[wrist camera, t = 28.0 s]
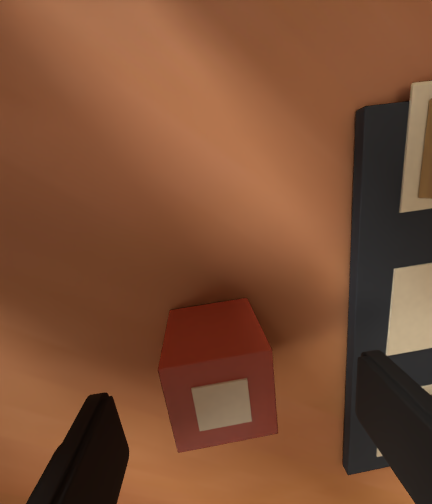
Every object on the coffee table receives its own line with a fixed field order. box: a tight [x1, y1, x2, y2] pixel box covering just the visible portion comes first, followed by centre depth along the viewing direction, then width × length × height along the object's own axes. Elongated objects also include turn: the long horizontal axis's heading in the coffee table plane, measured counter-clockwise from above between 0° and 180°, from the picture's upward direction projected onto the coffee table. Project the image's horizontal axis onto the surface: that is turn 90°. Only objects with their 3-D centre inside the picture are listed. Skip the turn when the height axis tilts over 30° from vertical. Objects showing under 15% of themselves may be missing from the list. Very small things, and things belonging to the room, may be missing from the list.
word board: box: [343, 81, 432, 475], centre depth 13 cm, size 9×23×1 cm, turn 7°
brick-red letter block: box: [158, 298, 278, 453], centre depth 10 cm, size 4×4×4 cm
